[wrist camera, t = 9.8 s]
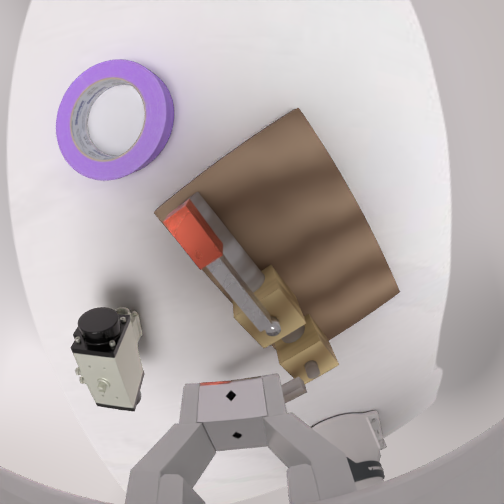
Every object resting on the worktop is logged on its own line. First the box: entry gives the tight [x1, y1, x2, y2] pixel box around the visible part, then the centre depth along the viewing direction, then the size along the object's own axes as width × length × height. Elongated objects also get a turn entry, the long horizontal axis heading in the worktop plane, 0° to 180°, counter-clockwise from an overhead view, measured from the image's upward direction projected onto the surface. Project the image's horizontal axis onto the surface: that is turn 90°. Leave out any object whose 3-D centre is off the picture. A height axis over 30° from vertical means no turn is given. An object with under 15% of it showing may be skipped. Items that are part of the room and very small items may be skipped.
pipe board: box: [154, 108, 400, 403], centre depth 28 cm, size 25×27×10 cm
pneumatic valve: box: [71, 307, 144, 411], centre depth 29 cm, size 6×12×12 cm, turn 178°
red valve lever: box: [163, 199, 281, 336], centre depth 23 cm, size 2×14×3 cm, turn 33°
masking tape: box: [56, 60, 174, 181], centre depth 24 cm, size 12×12×4 cm
